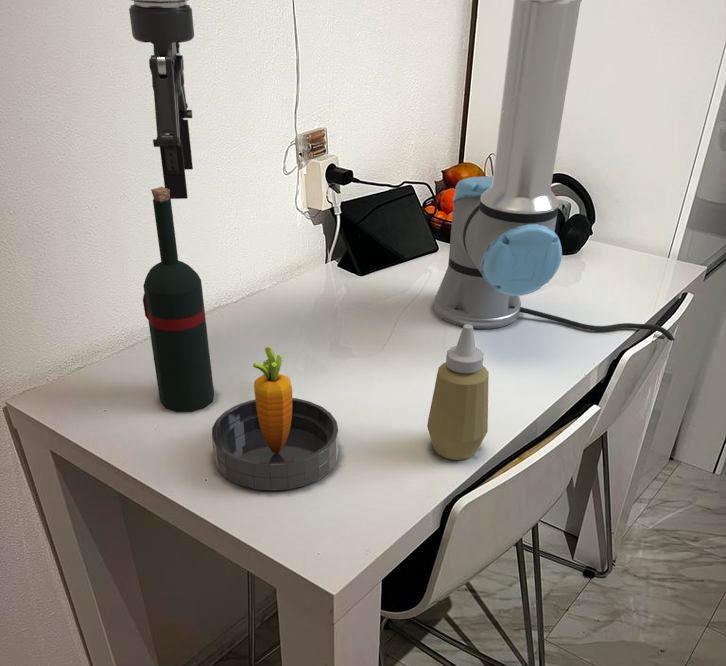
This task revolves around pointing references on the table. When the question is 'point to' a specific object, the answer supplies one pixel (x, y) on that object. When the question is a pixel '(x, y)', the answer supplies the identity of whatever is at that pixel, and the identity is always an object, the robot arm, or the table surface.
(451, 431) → the squeeze bottle
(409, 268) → the table surface
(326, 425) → the pan
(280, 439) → the carrot
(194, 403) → the wine bottle
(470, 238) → the robot arm
